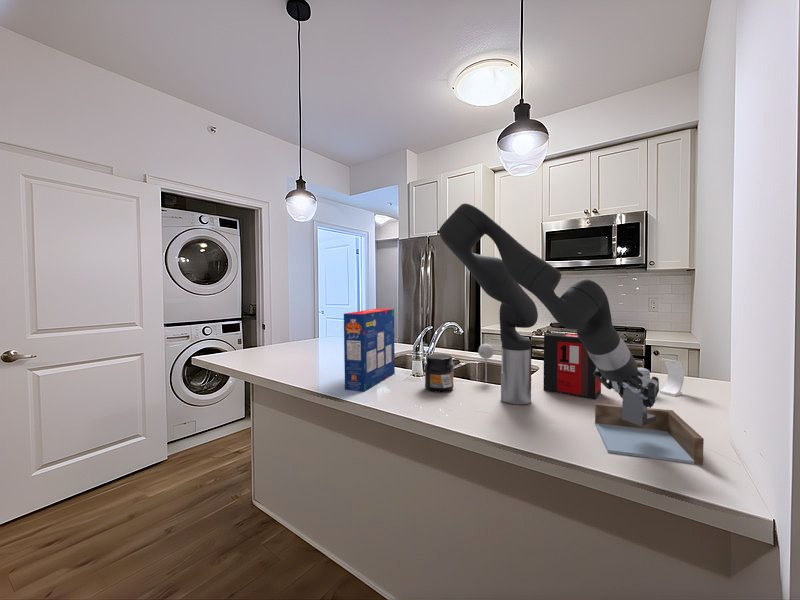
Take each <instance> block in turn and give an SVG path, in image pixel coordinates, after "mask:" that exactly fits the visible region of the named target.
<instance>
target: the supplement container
mask: <svg viewBox="0 0 800 600" xmlns="http://www.w3.org/2000/svg"><path fill="white" fill-rule="evenodd" d="M425 362H426V363H425V365H424V388H425V389H426V390H427V391H429V392H433V393H448V392H450V391H452V390H453V389H454V364H453V356H452V355H450V354H445V353H433V354H429V355H426V357H425Z"/></svg>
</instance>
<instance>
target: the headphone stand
mask: <svg viewBox="0 0 800 600" xmlns="http://www.w3.org/2000/svg"><path fill="white" fill-rule="evenodd" d="M660 362H664V364H665V366H666V370H667V376H666V382H665V384H664V386H663V387H662V389H659V394H662V395H667V396H671V397H677V396H680V395H682V394H683V391H682V388H683V385H684V380H685V371H684V367H683V365H682V363H681V361H679V360H674V359H667V358H660Z"/></svg>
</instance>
